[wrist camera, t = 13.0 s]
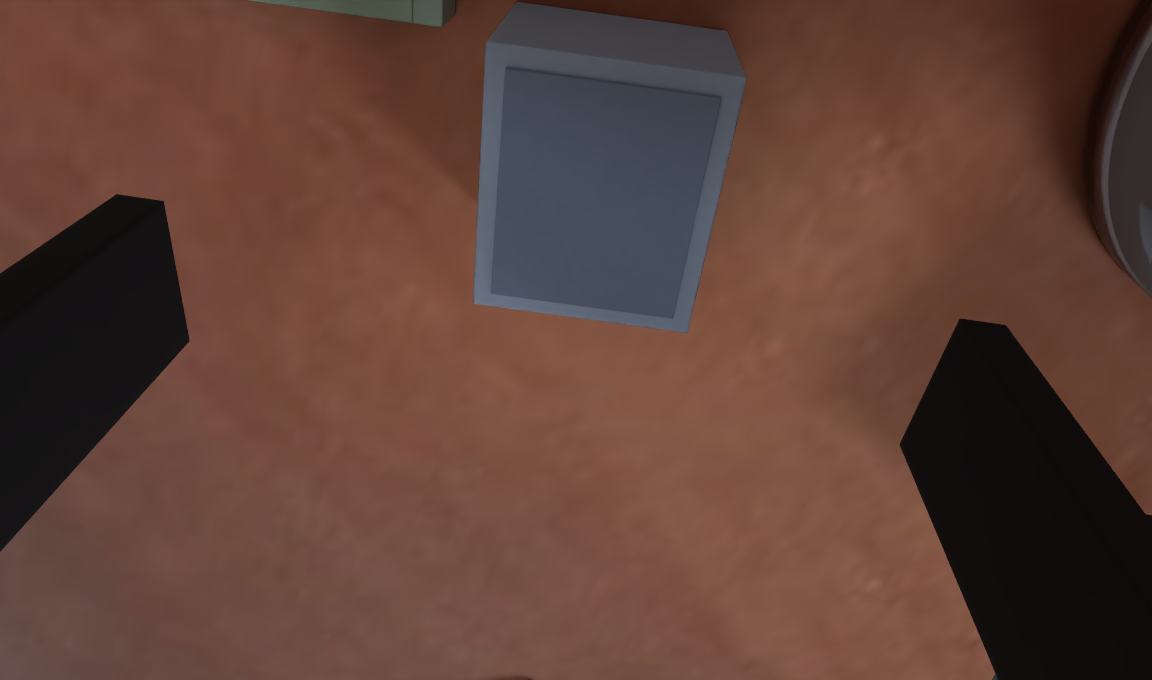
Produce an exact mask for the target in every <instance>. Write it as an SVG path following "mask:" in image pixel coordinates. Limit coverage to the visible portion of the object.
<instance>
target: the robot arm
mask: <svg viewBox="0 0 1152 680" xmlns="http://www.w3.org/2000/svg"><path fill="white" fill-rule="evenodd" d="M1085 184H1086V194H1087V200H1088V204H1089V208H1090V213H1091V217H1092V220H1093V222H1094V225H1095V227H1096V230H1097V232H1098V235H1099V237H1100V239H1101V241H1102V242H1103V244H1104V246H1105V248H1106V249H1107V251H1108V253H1109V254H1110V256H1111V257H1112V258H1113V260H1114V261H1115V262H1116V263H1117V265H1118V266H1119V267H1120V269H1122V270H1123V271H1124V272H1125V273H1126V274H1127V275H1128V276H1129V277H1130V278H1131V279H1132V280H1133V281H1134V282H1135V283H1136V284H1137V285H1138V286H1139V287H1140V288H1142V289H1143V290H1144V291H1145V292H1146V293H1147V294H1148V295H1149V296H1150V297H1151V298H1152V0H1142V1H1141V3H1140V5H1139V6H1138V8H1137V9H1136V11H1135V12H1134V14H1133V15H1132V17H1131V19H1130V21H1129V23H1128V24H1127V26H1126V28H1125V30H1124V32H1123V34H1122V36H1121V37H1120V39H1119V41H1118V43H1117V45H1116V47H1115V49H1114V51H1113V54H1112V56H1111V58H1110V61H1109V63H1108V65H1107V67H1106V70H1105V72H1104V74H1103V77H1102V80H1101V83H1100V86H1099V89H1098V92H1097V95H1096V98H1095V101H1094V105H1093V109H1092V113H1091V118H1090V122H1089V126H1088V132H1087V140H1086V148H1085ZM189 341H190V340H189V335H188V330H187V324H186V319H185V314H184V308H183V303H182V297H181V292H180V287H179V281H178V276H177V271H176V265H175V260H174V254H173V249H172V244H171V238H170V233H169V228H168V222H167V217H166V211H165V206H164V201H159V200H152V199H145V198H138V197H132V196H125V195H118V194H116V195H115V196H114V197H112V198H111V199H109V200H108V201H106V202H105V203H103V204H102V205H100V206H99V207H97V208H96V209H94V210H93V211H92V212H90V213H89V214H87V215H86V216H84V217H83V218H81V219H80V220H78V221H77V222H75V223H74V224H72V225H71V226H69V227H68V228H67V229H65V230H64V231H62V232H61V233H59V234H58V235H56V236H55V237H53V238H52V239H50V240H49V241H47V242H46V243H44V244H43V245H42V246H40V247H39V248H37V249H36V250H34V251H33V252H31V253H30V254H28V255H27V256H25V257H24V258H22V259H21V260H20V261H18V262H17V263H15V264H14V265H12V266H11V267H9V268H8V269H6V270H5V271H3V272H2V273H0V551H1V550H2V549H3V548H4V547H5V546H6V545H7V544H8V542H9V541H10V540H11V539H12V538H13V537H14V536H15V535H16V534H17V532H18V531H19V530H20V529H21V528H22V527H23V526H24V525H25V523H26V522H27V521H28V520H29V519H30V518H31V517H32V516H33V515H34V513H35V512H36V511H37V510H38V509H39V508H40V507H41V506H42V505H43V503H44V502H45V501H46V500H47V499H48V498H49V497H50V496H51V495H52V493H53V492H54V491H55V490H56V489H57V488H58V487H59V486H60V485H61V483H62V482H63V481H64V480H65V479H66V478H67V477H68V476H69V475H70V473H71V472H72V471H73V470H74V469H75V468H76V467H77V466H78V465H79V463H80V462H81V461H82V460H83V459H84V458H85V457H86V456H87V455H88V453H89V452H90V451H91V450H92V449H93V448H94V447H95V446H96V445H97V443H98V442H99V441H100V440H101V439H102V438H103V437H104V436H105V434H106V433H107V432H108V431H109V430H110V429H111V428H112V427H113V426H114V424H115V423H116V422H117V421H118V420H119V419H120V418H121V417H122V416H123V414H124V413H125V412H126V411H127V410H128V409H129V408H130V407H131V406H132V404H133V403H134V402H135V401H136V400H137V399H138V398H139V397H140V396H141V394H142V393H143V392H144V391H145V390H146V389H147V388H148V387H149V386H150V384H151V383H152V382H153V381H154V380H155V379H156V378H157V377H158V376H159V374H160V373H161V372H162V371H163V370H164V369H165V368H166V367H167V366H168V364H169V363H170V362H171V361H172V360H173V359H174V358H175V357H176V356H177V354H178V353H179V352H180V351H181V350H182V349H183V348H184V347H185V345H186V344H187V343H188V342H189ZM900 447H901V449H902V452H903V454H904V456H905V459H906V461H907V464H908V466H909V468H910V471H911V473H912V475H913V478H914V480H915V483H916V485H917V487H918V490H919V492H920V494H921V497H922V499H923V502H924V504H925V506H926V509H927V511H928V514H929V516H930V518H931V521H932V523H933V525H934V528H935V530H936V533H937V535H938V537H939V540H940V542H941V544H942V547H943V549H944V552H945V554H946V556H947V559H948V561H949V564H950V566H951V568H952V571H953V573H954V575H955V578H956V580H957V583H958V585H959V587H960V590H961V592H962V595H963V597H964V599H965V602H966V604H967V606H968V609H969V611H970V614H971V616H972V618H973V621H974V623H975V625H976V628H977V630H978V633H979V635H980V637H981V640H982V642H983V645H984V647H985V649H986V652H987V654H988V656H989V659H990V661H991V664H992V666H993V668H994V671H995V673H996V674H995V676H994V677H993V679H992V680H1152V515H1147V514H1145V513H1144V512H1143V510H1142V509H1141V507H1140V506H1139V505H1138V503H1137V502H1136V501H1135V499H1134V498H1133V497H1132V495H1131V494H1130V493H1129V491H1128V490H1127V489H1126V487H1125V486H1124V484H1123V483H1122V482H1121V480H1120V479H1119V478H1118V476H1117V475H1116V474H1115V472H1114V471H1113V470H1112V468H1111V467H1110V466H1109V464H1108V463H1107V461H1106V460H1105V459H1104V457H1103V456H1102V455H1101V453H1100V452H1099V451H1098V449H1097V448H1096V447H1095V445H1094V444H1093V443H1092V441H1091V440H1090V438H1089V437H1088V436H1087V434H1086V433H1085V432H1084V430H1083V429H1082V428H1081V426H1080V425H1079V424H1078V422H1077V421H1076V420H1075V418H1074V417H1073V415H1072V414H1071V413H1070V411H1069V410H1068V409H1067V407H1066V406H1065V405H1064V403H1063V402H1062V401H1061V399H1060V398H1059V397H1058V395H1057V394H1056V392H1055V391H1054V390H1053V388H1052V387H1051V386H1050V384H1049V383H1048V382H1047V380H1046V379H1045V378H1044V376H1043V375H1042V374H1041V372H1040V371H1039V369H1038V368H1037V367H1036V365H1035V364H1034V363H1033V361H1032V360H1031V359H1030V357H1029V356H1028V355H1027V353H1026V352H1025V351H1024V349H1023V348H1022V346H1021V345H1020V344H1019V342H1018V341H1017V340H1016V338H1015V337H1014V336H1013V334H1012V333H1011V332H1010V330H1009V329H1008V328H1007V326H1006V325H1001V324H994V323H987V322H980V321H973V320H967V319H959V321H958V323H957V325H956V327H955V330H954V332H953V334H952V336H951V338H950V340H949V342H948V344H947V346H946V348H945V350H944V353H943V355H942V357H941V359H940V361H939V363H938V365H937V367H936V369H935V371H934V373H933V376H932V378H931V380H930V382H929V384H928V386H927V388H926V390H925V392H924V394H923V396H922V399H921V401H920V403H919V405H918V407H917V409H916V411H915V413H914V415H913V417H912V420H911V422H910V424H909V426H908V428H907V430H906V432H905V434H904V436H903V438H902V440H901V443H900Z"/></svg>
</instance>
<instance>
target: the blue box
mask: <svg viewBox="0 0 1152 680" xmlns="http://www.w3.org/2000/svg"><path fill="white" fill-rule="evenodd" d="M746 81H747V77H746V75H745V72H744V70H743V68H742V65H741V63H740V60H739V58H738V56H737V53H736V51H735V49H734V46H733V44H732V42H731V39H730V37H729V35H728V32H727V31H724V30H717V29H710V28H703V27H695V26H688V25H681V24H674V23H667V22H659V21H652V20H645V19H638V18H631V17H624V16H616V15H609V14H602V13H595V12H588V11H580V10H573V9H566V8H559V7H552V6H544V5H537V4H530V3H523V2H516V3H515V4H514V6H513V7H512V8H511V10H510V11H509V12H508V14H507V15H506V16H505V18H504V19H503V20H502V22H501V23H500V24H499V26H498V27H497V28H496V29H495V31H494V32H493V33H492V35H491V36H490V37H489V39H488V40H487V41H486V48H485V69H484V89H483V110H482V131H481V151H480V172H479V192H478V213H477V234H476V254H475V275H474V296H473V302H474V303H475V304H481V305H488V306H496V307H503V308H510V309H517V310H525V311H532V312H539V313H546V314H554V315H561V316H568V317H575V318H583V319H590V320H597V321H604V322H612V323H619V324H626V325H633V326H641V327H648V328H655V329H662V330H670V331H677V332H684V333H687V331H688V328H689V324H690V319H691V315H692V311H693V307H694V302H695V298H696V294H697V290H698V285H699V281H700V277H701V273H702V268H703V264H704V260H705V256H706V251H707V247H708V243H709V239H710V234H711V230H712V226H713V222H714V217H715V213H716V209H717V205H718V200H719V196H720V192H721V188H722V183H723V179H724V175H725V171H726V166H727V162H728V158H729V154H730V149H731V145H732V141H733V137H734V132H735V128H736V124H737V120H738V115H739V111H740V107H741V103H742V98H743V94H744V90H745V86H746Z"/></svg>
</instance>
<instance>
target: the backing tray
mask: <svg viewBox="0 0 1152 680" xmlns="http://www.w3.org/2000/svg"><path fill="white" fill-rule="evenodd" d="M249 1H256V2H263V3H270V4H277V5H285V6H292V7H299V8H306V9H313V10H321V11H328V12H335V13H342V14H349V15H357V16H364V17H371V18H378V19H385V20H393V21H400V22H407V23H412V22H413V23H415V24H421V25H428V26H435V27H442V26H444V25H445V24H446V23H447V22H448V21H449V20H450V19H451V18H452V17H453V16H454V15H455V0H249Z"/></svg>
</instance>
